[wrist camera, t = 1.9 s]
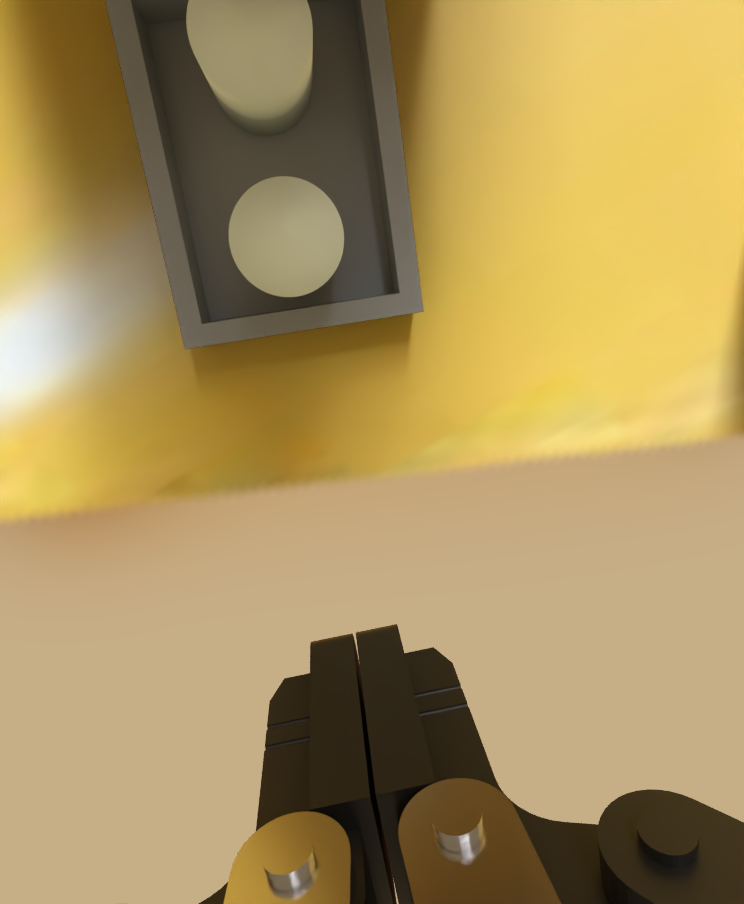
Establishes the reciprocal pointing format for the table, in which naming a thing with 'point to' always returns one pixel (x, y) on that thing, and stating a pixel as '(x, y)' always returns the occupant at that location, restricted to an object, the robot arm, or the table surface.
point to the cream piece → (286, 236)
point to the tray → (272, 171)
